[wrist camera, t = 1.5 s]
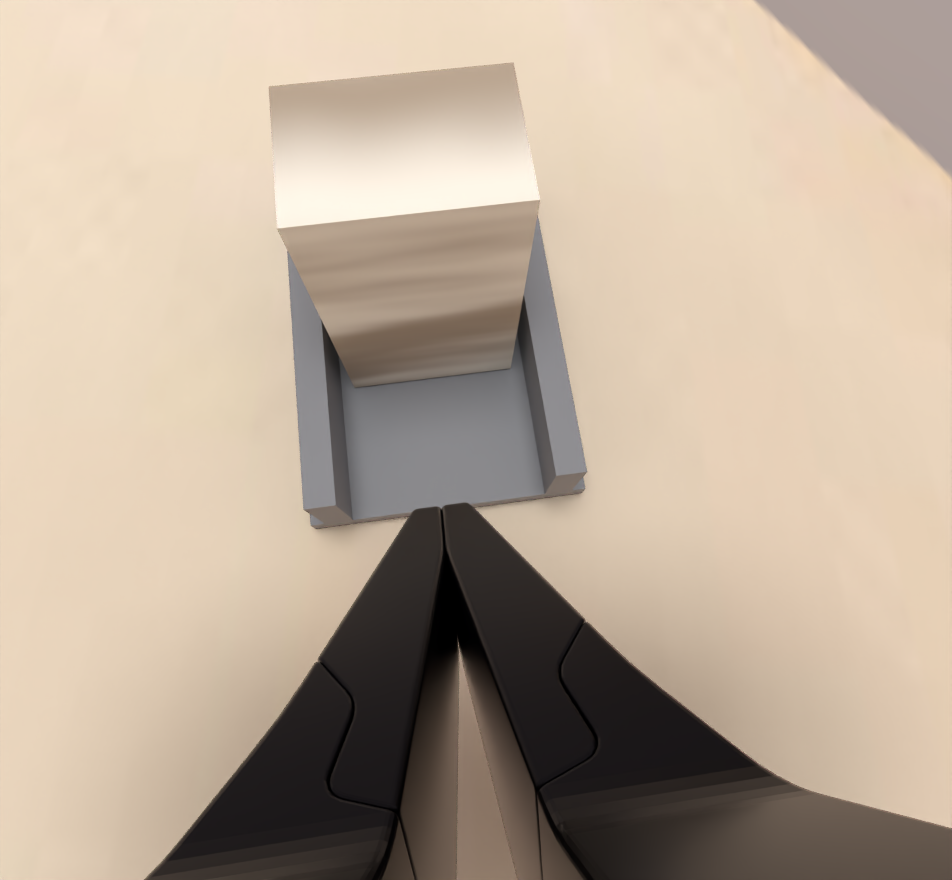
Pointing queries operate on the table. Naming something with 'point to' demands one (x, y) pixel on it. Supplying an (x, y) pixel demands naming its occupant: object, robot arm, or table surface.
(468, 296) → the cream block
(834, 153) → the table surface
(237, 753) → the table surface
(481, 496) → the gray chute
